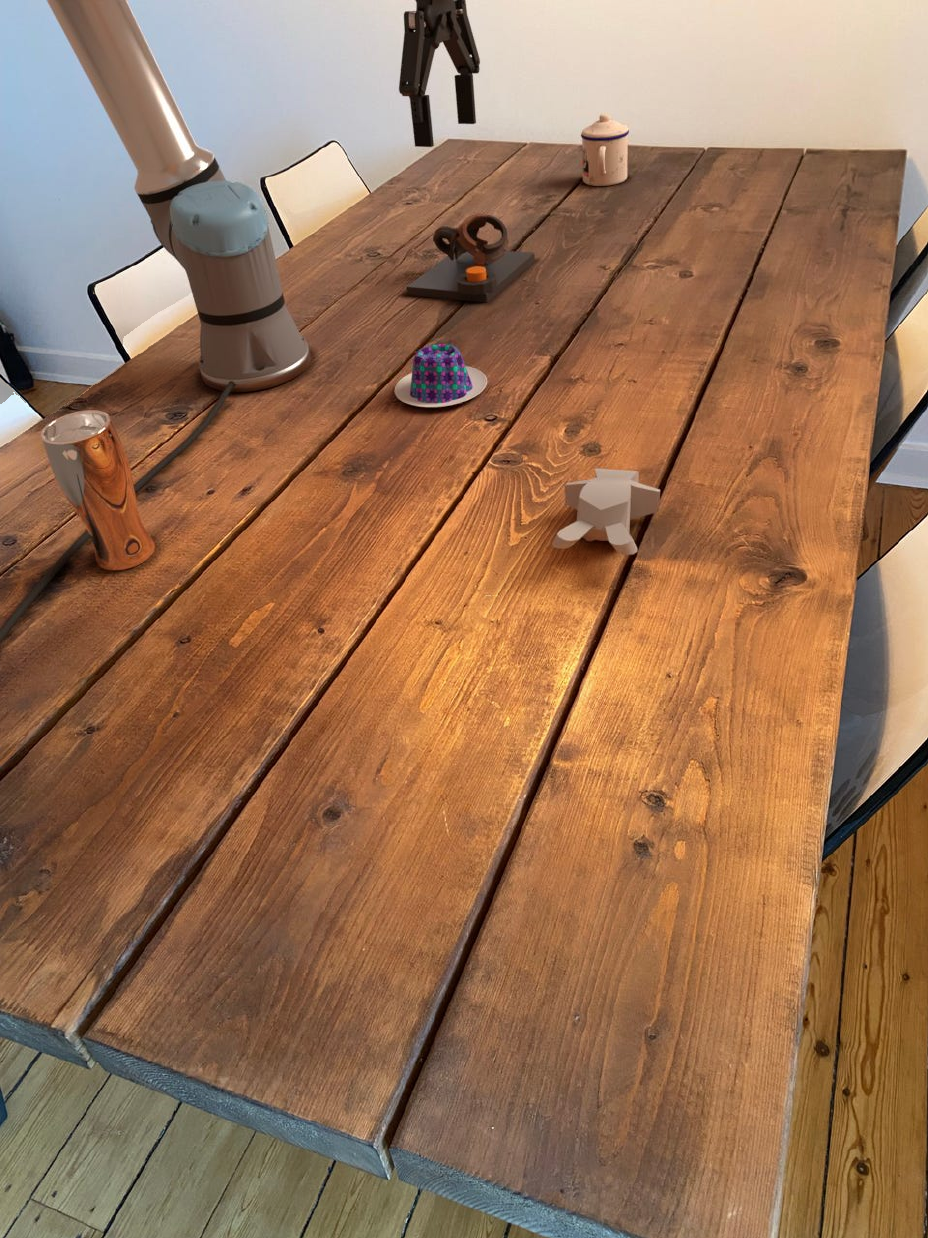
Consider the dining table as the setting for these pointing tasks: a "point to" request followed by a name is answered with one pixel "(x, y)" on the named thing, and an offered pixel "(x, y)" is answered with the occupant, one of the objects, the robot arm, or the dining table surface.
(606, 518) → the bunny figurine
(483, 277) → the button
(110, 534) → the beer glass
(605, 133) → the teacup with lid
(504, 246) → the rusty split ring clamp
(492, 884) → the dining table surface
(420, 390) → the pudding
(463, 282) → the scale
